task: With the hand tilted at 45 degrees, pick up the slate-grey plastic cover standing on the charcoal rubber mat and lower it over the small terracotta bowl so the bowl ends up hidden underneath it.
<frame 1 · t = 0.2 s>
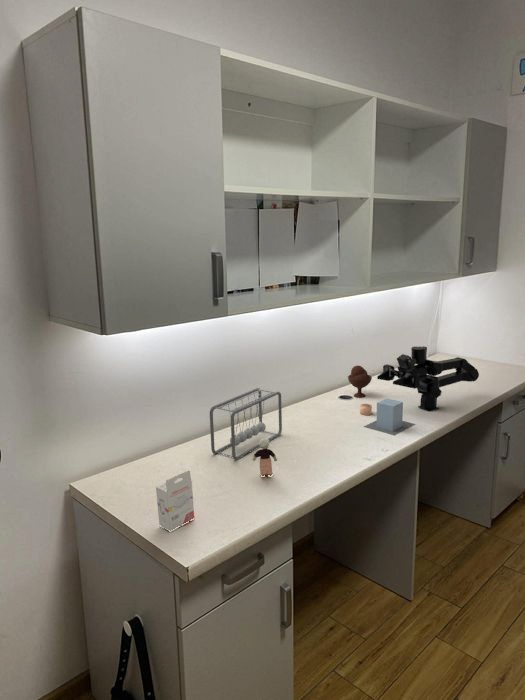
hand: (385, 380, 212), 17 cm above the worktop, tool horizontal, fingers open, 9 cm apart
ink cartridge box: (176, 524, 141), on the worktop
grandmother figurine: (265, 476, 167), on the worktop
mat: (389, 426, 207), on the worktop
ice cream bowl: (359, 396, 247), on the worktop
cover: (389, 426, 206), resting on mat
newton's cradle: (248, 445, 193), on the worktop
bowl: (365, 414, 222), on the worktop
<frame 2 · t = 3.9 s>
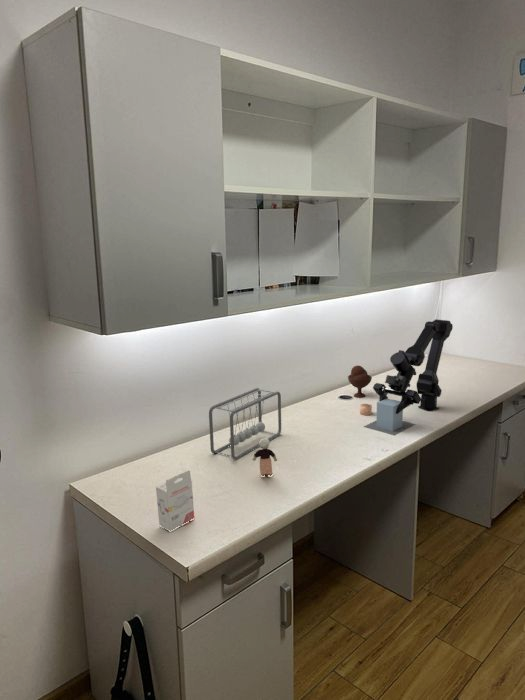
hand: (387, 411, 203), 7 cm above the worktop, tool tilted 45°, fingers closed on cover, 7 cm apart
cover: (389, 426, 206), resting on mat, touching gripper
everything else where it was.
when the fingers open (8 cm above the worktop, at t = 9.3 s): cover drops 1 cm, on the worktop.
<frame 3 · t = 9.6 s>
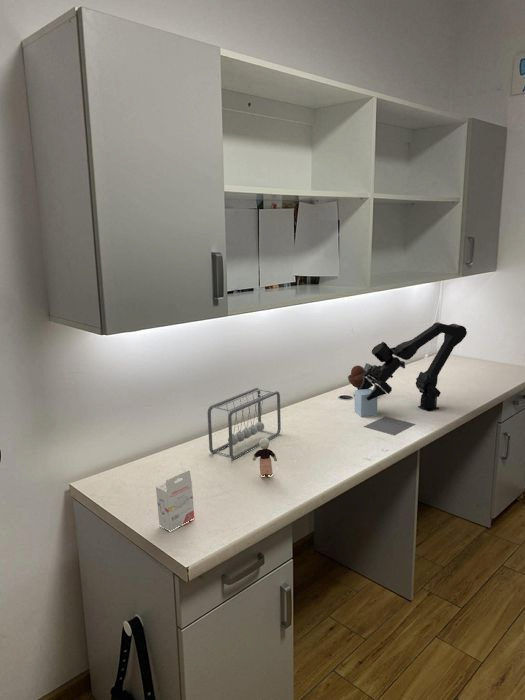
hand: (362, 396, 220), 8 cm above the worktop, tool tilted 45°, fingers open, 9 cm apart
cover: (365, 414, 222), on the worktop
everything else where it was.
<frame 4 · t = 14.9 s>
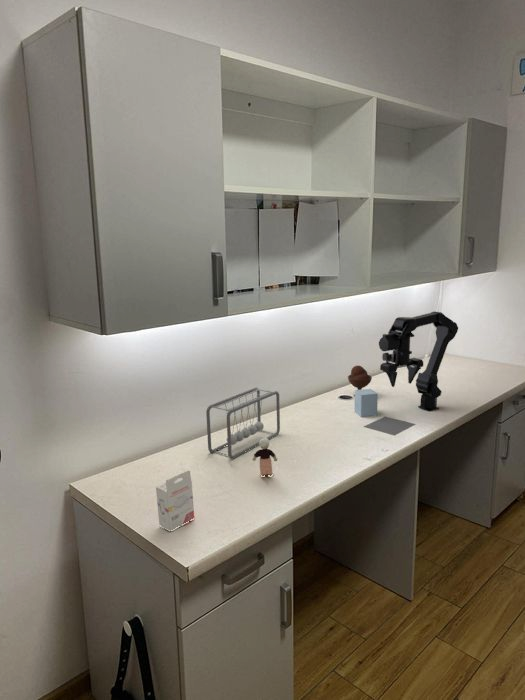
hand: (401, 385, 217), 13 cm above the worktop, tool pointing down, fingers open, 9 cm apart
at the end: cover 0.0 cm from the bowl (horizontally); cover on the worktop; the gripper is holding nothing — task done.
